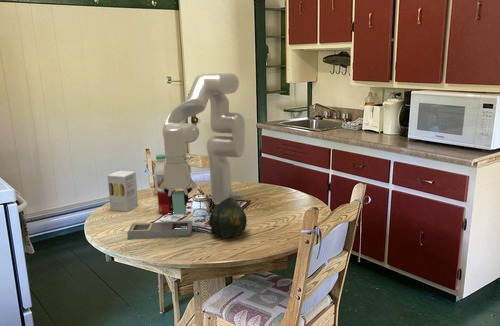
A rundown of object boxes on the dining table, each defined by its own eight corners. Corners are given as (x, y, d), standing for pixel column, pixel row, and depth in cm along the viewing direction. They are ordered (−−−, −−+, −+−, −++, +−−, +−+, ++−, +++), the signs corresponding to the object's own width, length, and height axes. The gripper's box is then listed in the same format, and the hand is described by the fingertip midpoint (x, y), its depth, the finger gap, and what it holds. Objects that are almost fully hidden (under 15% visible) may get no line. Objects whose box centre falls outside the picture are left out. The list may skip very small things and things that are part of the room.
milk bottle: (153, 194, 220) (149, 156, 215) (160, 190, 227) (157, 153, 223) (166, 195, 218) (163, 157, 213) (173, 191, 225) (171, 153, 220)
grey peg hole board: (192, 226, 177) (192, 220, 176) (190, 236, 167) (190, 229, 166) (133, 229, 176) (132, 222, 175) (127, 239, 166) (127, 232, 165)
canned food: (173, 215, 190) (171, 191, 188) (156, 214, 192) (154, 190, 189) (179, 209, 198) (177, 186, 195) (162, 208, 199) (161, 185, 197)
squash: (205, 230, 158) (231, 198, 158) (199, 218, 172) (222, 188, 172) (235, 251, 163) (259, 219, 163) (226, 237, 177) (249, 208, 177)
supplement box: (109, 210, 199) (106, 175, 195) (121, 204, 207) (118, 170, 203) (128, 212, 196) (124, 176, 192) (139, 205, 204) (135, 171, 200)
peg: (186, 209, 173) (184, 190, 171) (185, 213, 168) (183, 194, 166) (174, 210, 173) (173, 191, 171) (173, 214, 168) (171, 194, 166)
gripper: (198, 155, 169) (201, 199, 174) (154, 157, 168) (159, 202, 173) (197, 160, 162) (200, 206, 166) (151, 162, 161) (156, 208, 166)
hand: (179, 203), depth 170 cm, fingers closed on peg, 4 cm apart
